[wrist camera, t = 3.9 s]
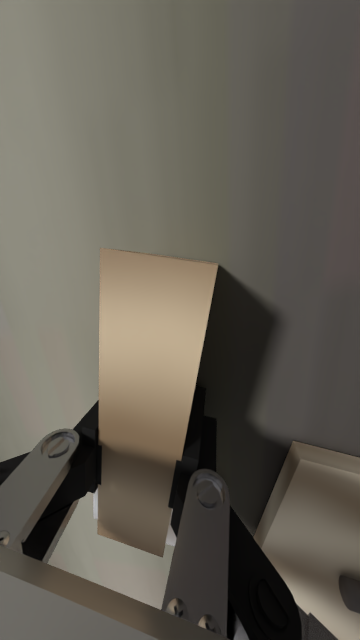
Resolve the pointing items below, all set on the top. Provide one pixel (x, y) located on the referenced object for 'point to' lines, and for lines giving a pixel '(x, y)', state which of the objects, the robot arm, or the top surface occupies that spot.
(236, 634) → the robot arm
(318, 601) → the board
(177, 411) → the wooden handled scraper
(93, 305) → the top surface
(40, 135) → the top surface
